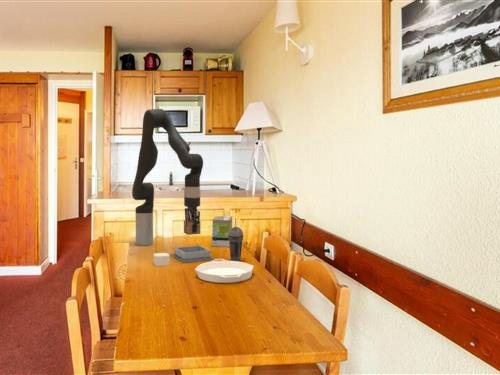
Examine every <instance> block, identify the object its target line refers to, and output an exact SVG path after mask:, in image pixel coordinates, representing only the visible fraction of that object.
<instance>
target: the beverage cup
mask: <svg viewBox="0 0 500 375" xmlns="http://www.w3.org/2000/svg"><path fill="white" fill-rule="evenodd" d="M234 220H235V222H234V223H235V224H234V227H233V226H232V229H231V230H230V231H229V234H228V237H229V244H230V247H229V255H230V256H229V257H230V261H237V262H241V257H242V249H243V241H244V236H245V235H244V231H243V230H242V229H241V228H240V227H238V226H237V218H236V217H235V218H234Z"/></svg>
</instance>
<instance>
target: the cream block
mask: <svg viewBox="0 0 500 375" xmlns="http://www.w3.org/2000/svg"><path fill="white" fill-rule="evenodd" d="M170 256H171V255H170V254H169V253H168V252H159V253H156V252H155V253H153V256H152V257H153V262H152V263H153V265H154V266H155V267H164V266H166V265H167V266H170V263H171V262H170V260H171V259H170ZM167 266H166V267H167Z"/></svg>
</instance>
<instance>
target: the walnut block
mask: <svg viewBox="0 0 500 375" xmlns="http://www.w3.org/2000/svg"><path fill="white" fill-rule="evenodd" d="M183 234H186V235H188V236H190V235H201V221H200V222H199V224H198V225H197V233H193V232H192V221H191V220H184V219H183Z"/></svg>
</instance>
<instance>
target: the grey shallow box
mask: <svg viewBox="0 0 500 375" xmlns="http://www.w3.org/2000/svg"><path fill="white" fill-rule="evenodd" d="M211 254H212V253H211V250H210V249H209V248H206V247H204V246H202V245H200V244H199V245H198V244H197V245H191V246H177V247H174V253H171V254H169V255H170V256H171V257H172V258H174V259H175V260H177V261H178V262H180V263H181V264H188V263H189V264H192V263H198V262H199V261H200V262H210V261H213V260H215V259H216V258H215V257H213V256H212V255H211Z"/></svg>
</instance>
